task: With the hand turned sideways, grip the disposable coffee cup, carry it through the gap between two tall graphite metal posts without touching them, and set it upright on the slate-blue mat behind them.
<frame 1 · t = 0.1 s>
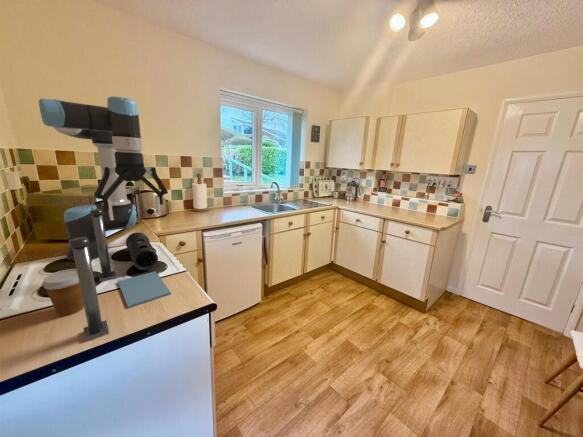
hand: (136, 216, 80), 28 cm above the counter, tool pointing down, fingers open, 13 cm apart
disposable coffee cup: (71, 310, 75), on the counter
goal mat: (143, 288, 88), on the counter
post 1: (96, 332, 66), on the counter
post 2: (107, 277, 94), on the counter
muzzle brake: (142, 260, 110), on the counter
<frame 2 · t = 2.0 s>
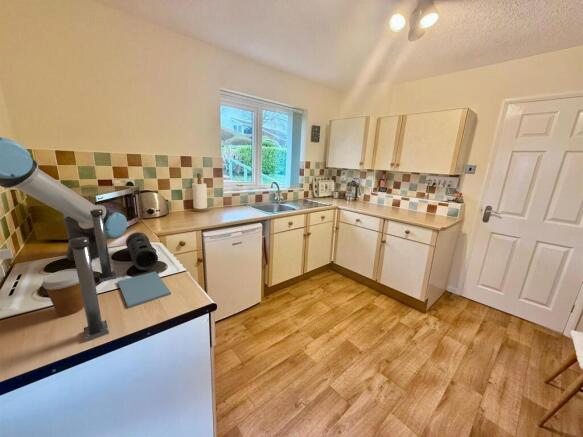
hand: (8, 261, 63), 19 cm above the counter, tool horizontal, fingers open, 13 cm apart
nothing on the counter moved.
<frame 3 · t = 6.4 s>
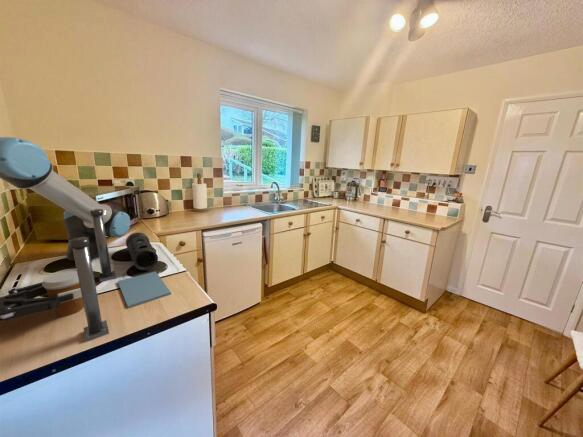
hand: (86, 284, 76), 7 cm above the counter, tool horizontal, fingers closed on disposable coffee cup, 8 cm apart
disposable coffee cup: (71, 310, 75), on the counter, touching gripper
everything else where it was.
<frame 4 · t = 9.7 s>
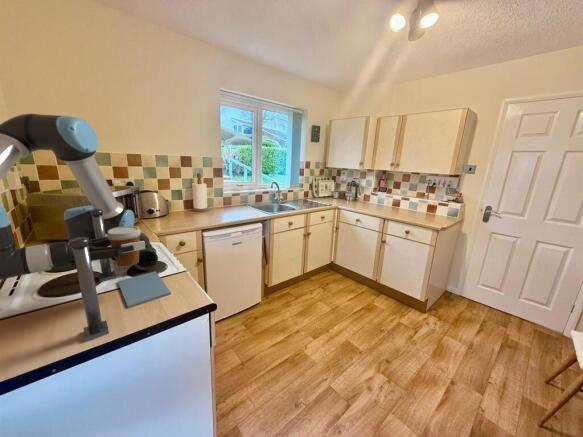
hand: (141, 240, 83), 19 cm above the counter, tool horizontal, fingers closed on disposable coffee cup, 8 cm apart
disposable coffee cup: (128, 263, 82), point 12 cm above the counter, touching gripper
everything else where it was.
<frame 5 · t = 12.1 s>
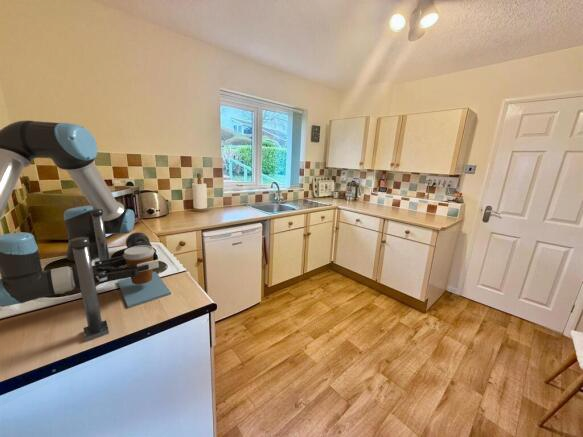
hand: (155, 259, 88), 11 cm above the counter, tool horizontal, fingers closed on disposable coffee cup, 8 cm apart
disposable coffee cup: (142, 280, 87), point 3 cm above the counter, touching gripper
everything else where it was.
when the fingers open (9 cm above the counter, at t = 13.0 s): disposable coffee cup drops 1 cm, resting on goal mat.
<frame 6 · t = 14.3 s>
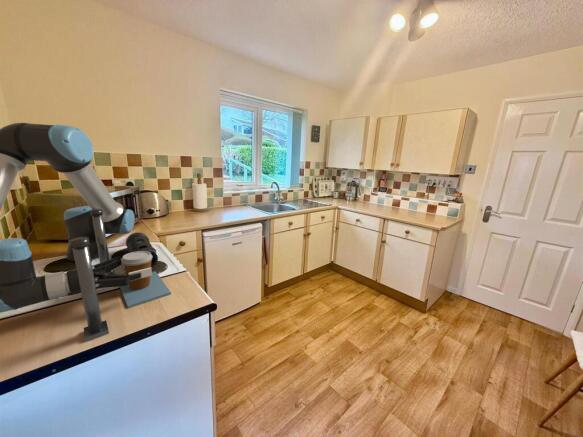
hand: (146, 264, 87), 9 cm above the counter, tool horizontal, fingers open, 13 cm apart
disposable coffee cup: (140, 285, 88), point 1 cm above the counter, touching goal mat, gripper
everything else where it was.
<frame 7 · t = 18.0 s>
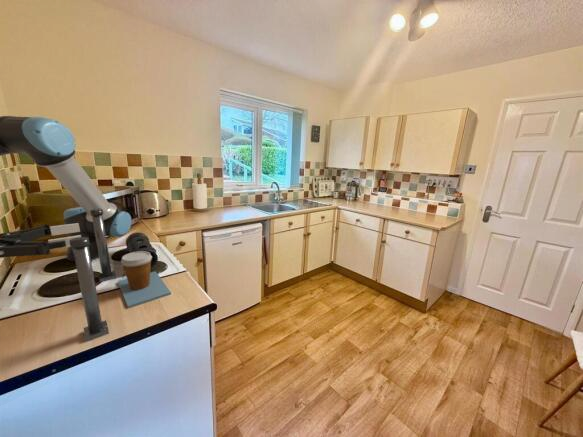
hand: (80, 233, 71), 25 cm above the counter, tool horizontal, fingers open, 13 cm apart
disposable coffee cup: (140, 285, 88), point 1 cm above the counter, touching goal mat
everything else where it was.
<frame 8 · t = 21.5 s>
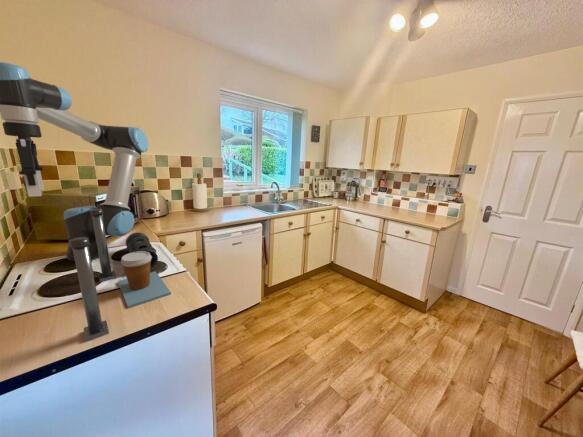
hand: (37, 193, 76), 35 cm above the counter, tool pointing down, fingers open, 13 cm apart
nothing on the counter moved.
at the end: disposable coffee cup inside the target area on the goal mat (1.6 cm from its centre), point 0.6 cm above the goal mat's base; post 2 moved 0.0 cm from its start; post 1 moved 0.0 cm from its start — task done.
